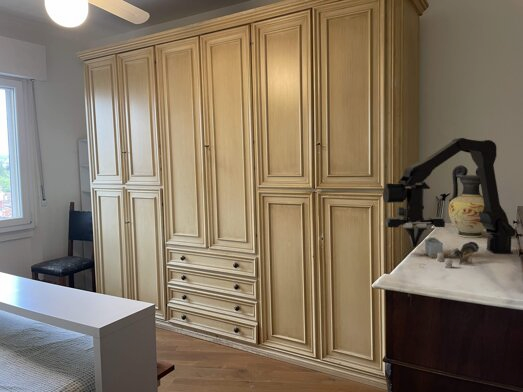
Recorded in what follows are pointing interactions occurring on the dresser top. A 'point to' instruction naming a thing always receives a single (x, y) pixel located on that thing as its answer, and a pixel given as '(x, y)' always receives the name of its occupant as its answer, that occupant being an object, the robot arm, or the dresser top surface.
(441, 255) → the pin seat fixture
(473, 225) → the amphora
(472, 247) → the eagle figurine
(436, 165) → the robot arm
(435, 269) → the dresser top surface
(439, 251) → the block
